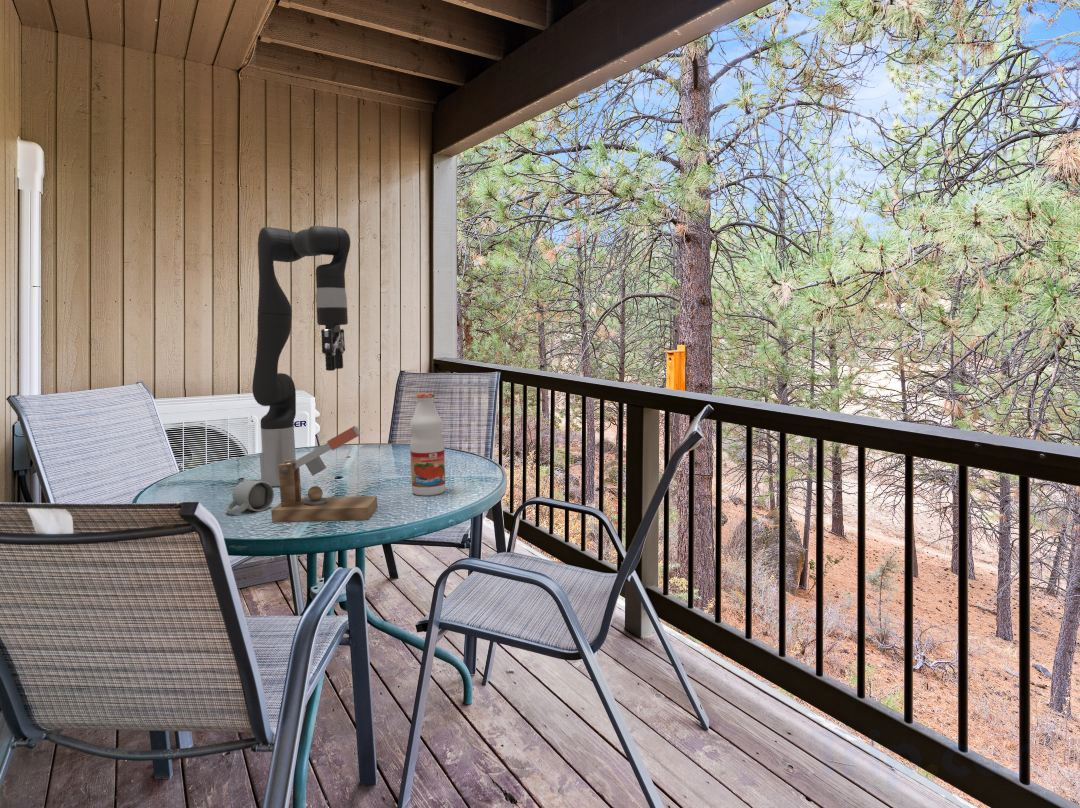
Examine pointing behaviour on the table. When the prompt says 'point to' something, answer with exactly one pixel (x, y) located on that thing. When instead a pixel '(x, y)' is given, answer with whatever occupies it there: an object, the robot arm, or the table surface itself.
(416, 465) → the fruit juice
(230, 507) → the ceramic mug
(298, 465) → the lever
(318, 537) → the table surface
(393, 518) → the table surface
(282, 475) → the base
